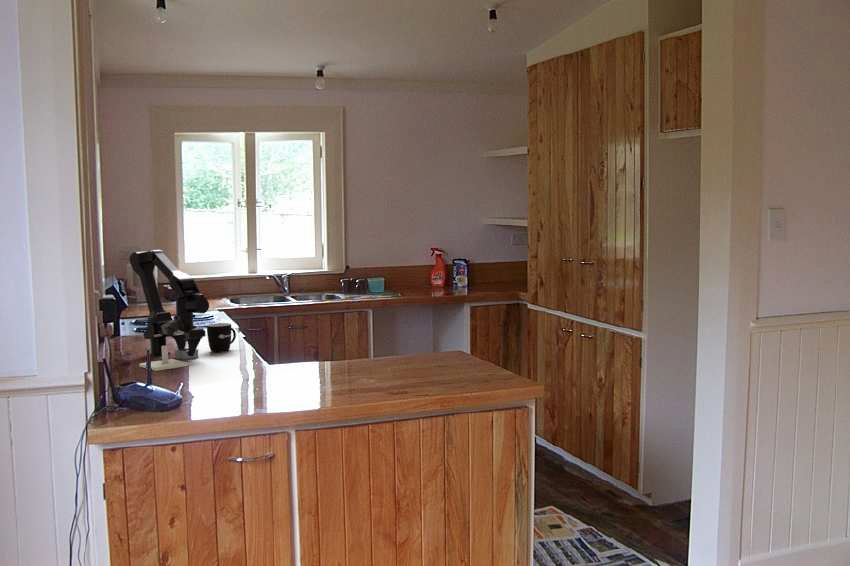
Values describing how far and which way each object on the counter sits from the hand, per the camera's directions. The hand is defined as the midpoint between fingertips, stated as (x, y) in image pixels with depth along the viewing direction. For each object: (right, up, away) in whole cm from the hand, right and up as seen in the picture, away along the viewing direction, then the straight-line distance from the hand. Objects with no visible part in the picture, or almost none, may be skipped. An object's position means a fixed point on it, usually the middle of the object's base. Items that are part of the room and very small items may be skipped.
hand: (186, 355), depth 295 cm
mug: (+10, 0, +15) cm, 18 cm away
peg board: (-3, -2, -15) cm, 16 cm away
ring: (0, -1, 0) cm, 1 cm away
